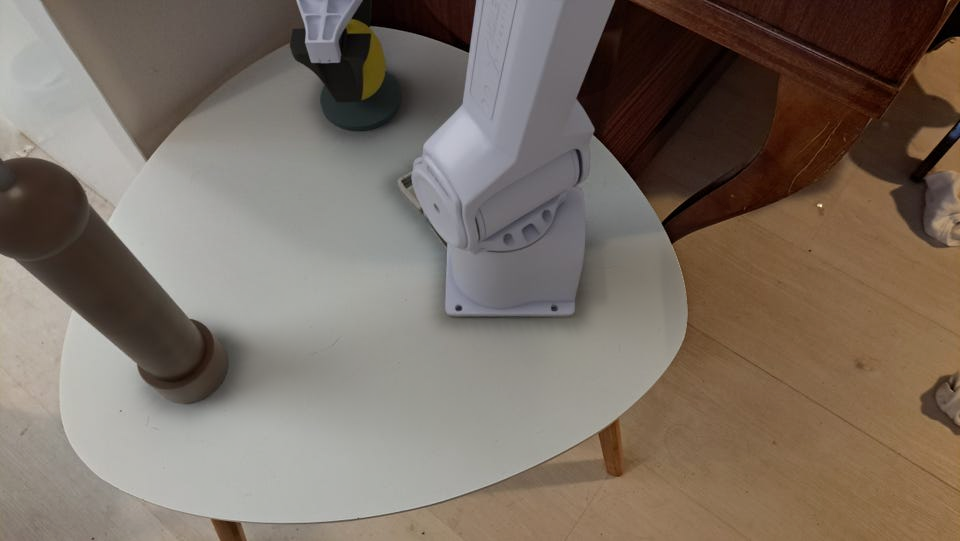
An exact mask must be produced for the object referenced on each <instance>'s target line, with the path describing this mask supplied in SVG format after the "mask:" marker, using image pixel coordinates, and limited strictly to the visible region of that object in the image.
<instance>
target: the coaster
mask: <svg viewBox="0 0 960 541" xmlns="http://www.w3.org/2000/svg"><path fill="white" fill-rule="evenodd" d="M401 91H402V90H401V87H400V84H399V82H398V81H397V79H396V78H395V77H394V76H393V75H392V74H391V73H390V72H388V71H387V70H385V76H384V79H383V82H382V84H381V86H380V88H379V89H378V90H377V91H376V92H375V93H374V94H373V95H372V96H370V97H369V98H366V99H364V100H361V102H336V101H335V99H334V98H333V97H332V95H331V94H330V92H329V91H328V89H327V88H326V87H325V85H324V84H323V87H322V89H321V92H320V95H319V101H320V107H321V110H322V113H323V115H324V116H325V118H326V120H328V121H329V122H330V123H331V124H333V125H334V126H336V127H338V128H340V129H343V130H347V131H353V132H354V131H355V132H360V131H361V132H362V131H363V132H364V131H370V130H373V129H375V128H376V129H377V128H378V127H381V126H382V125H385V124H386V123H387V122H389V121H390V120H391V119H392V118H393V117H394V116H395V115H396V113H398V110H399V108H400V106H401V102H402V92H401Z"/></svg>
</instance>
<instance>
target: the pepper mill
mask: <svg viewBox="0 0 960 541" xmlns="http://www.w3.org/2000/svg"><path fill="white" fill-rule="evenodd" d="M79 181H80V180H78V179H77V178H76V176H74V175H73V174H72V173H71V172H70V171H69V170H67V169H66V168H64V167H63V166H61V165H60V164H57V163H55V162H53V161H51V160H47V159H44V158H39V157H29V156H23V157H21V156H20V157H15V158H8V159H5V160H3V159H2V157H0V255H1V256H3V257H7V258H9V259H13V260H14V261H15V262H16V263H18V264H19V265H20V266H21V267H22V268H24V269H25V270H26V271H27V272H28V273H30V274H31V275H32V276H33V277H34V278H35V279H36V280H38V281H39V282H40V283H41V284H42V285H44V286H45V287H46V288H47V289H48V290H49V291H50V292H52V293H53V294H54V295H56V297H57V298H59V299H60V300H61V301H63V302H64V303H65V304H66V305H67V306H68V307H70V309H72V311H74V312H75V313H77V315H79V317H81V318H83V320H85V321H86V322H87V323H88V324H90V326H92V327H93V328H94V329H95V330H97V332H99V334H101V335H102V336H103V337H105V338H106V339H107V340H108V341H109V342H110V343H112V344H113V345H114V346H115V347H116V348H118V349H119V350H120V351H121V352H122V353H124V354H125V355H126V356H127V357H128V358H129V359H131V361H133V362H134V363H135V364H136V367H137V371H138V374H139V375H140V377H141V379H142V380H143V381H144V382H145V383H146V384H147V385H149V386H150V387H151V388H152V389H153V390H155V391H156V392H157V393H159V394H160V395H161V396H162V397H163V398H165V399H166V400H168V401H170V402H173V403H176V404H192V403H196V402H200V401H201V400H204V399H206V398H207V397H209V396H211V394H213V393H214V392H215V391H216V390H217V389H218V388H219V387H220V386H221V384H222V383H223V381H224V379H225V377H226V375H227V371H228V367H229V359H228V358H229V357H228V353H227V351H226V349H225V347H224V346H223V345H222V343H221V341H219V339H218V338H217V337H216V336H215V335H214V334H213V332H212V331H211V330H210V329H209V327H208V326H206V325H205V324H204V323H202V322H201V321H199V320H197V319H193V318H190V317H189V316H188V315H187V314H186V312H184V311H183V309H182V308H181V307H180V306H179V304H177V302H176V301H175V300H174V299H173V298H172V297H171V296H170V294H168V292H167V291H166V289H164V287H163V286H162V285H161V284H160V283H159V282H158V281H157V279H155V277H154V276H153V275H152V274H151V273H150V271H149V270H148V269H147V268H146V267H145V266H144V265H143V263H142V262H141V261H140V260H139V259H138V257H136V255H135V254H134V253H133V252H132V251H131V250H130V249H129V247H128V246H127V245H126V244H125V243H124V241H123V240H122V239H121V238H120V237H119V236H118V235H117V233H116V232H114V230H113V229H112V228H111V227H110V226H109V224H108V223H107V222H106V221H105V220H104V219H103V218H102V216H101V215H100V214H99V213H98V212H97V210H95V208H94V207H93V206H92V205H91V204H90V202H89V198H88V195H87V193H86V191H85V189H84V187H83V186H82V184H81V183H80V182H79Z"/></svg>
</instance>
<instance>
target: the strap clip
mask: <svg viewBox="0 0 960 541" xmlns="http://www.w3.org/2000/svg"><path fill="white" fill-rule="evenodd" d="M412 171H413V170H411V171H409V172H408V173H406V174H404V175H402V176H401V177H399V178H398V179H397V187H398V189H399V191H400V193H401V195H402V197H403V198H404V199H405V200H406V201H407V202H408V203H409V204H410V206H412V207H413V209H415V211H417V213H418V214H423V215H424V218H425V219H426V220H427V221H429V219H428V218H427V216H426V214H425V213H424V211H423V209H422V207H421V205H420V203H419V201H418V198H417V196H416V194H415V191H414V188H413V184H411V185H410V186H409V187H407V188H406V186H405V184H407V183H408V182H410V181H412ZM429 225H430V229H431V230H432V231H433V233H434V234H435V236H436V237H437V239H438V240H439V241H440V243H441V244H442V245H443V247H444V248H445V249H446V250H447V242H446V241H445V240H444V239H443V238H442V237H441V236H440V235H439V234H438V232H437V231H436V230H435V228H434V227H433V225H432V224H431V222H429Z"/></svg>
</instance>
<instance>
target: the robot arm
mask: <svg viewBox="0 0 960 541" xmlns="http://www.w3.org/2000/svg"><path fill="white" fill-rule="evenodd" d="M295 1H296V5H297V7H298V10H299V13H300V16H301V19H302V22H303V25H304V28H292V30H291V36H290V42H289V48H290V52H291V54H292V57H293V58H294V61H296V62H297V63H300V64H301V65H303V66H305V67H306V68H307V69H309V70H310V71H312V72H313V73H314V74H315V75H316V76H317V77H318V78H319V80H320V81H321V82H322V84H323V86H324V85H325V87H326V88H327V89H328V91H329V92H330V94H331V95H332V97H333V98H334V99H335V101H336V102H361V100H362V93H363V65H364V63H365V61H366V59H367V57H368V54H369V50H370V43H371V34H372V33H347V29H346V28H345V27H346V26H347V24H348V23H349V21H350V19H354V20H358V21H360V22H362V23H364V24H366V25H367V26H368V27H369V28H370V29H371V24H372V23H371V22H372V0H295ZM615 1H616V0H475V8H474V16H473V23H472V31H471V36H470V37H471V38H470V44H469V52H468V59H467V68H466V74H465V81H464V82H465V83H464V89H463V95H462V96H463V97H462V99H463V100H462V104H461V105H460V106H459V108H458V109H457V110H456V111H455V112H454V113H453V114H451V116H450V117H449V118H448V119H447V120H445V122H444V123H443V124H442V125H440V126H439V127H438V128H437V130H436V131H434V133H433V134H432V135H431V136H429V138H427V139H426V141H425V142H424V144H422V155H421V156H418V157H416V158H415V159H414V161H413V164H412V170H411V171H412V180H411V185H413V188H414V191H415V194H416V196H417V198H418V201H419V203H420V205H421V207H422V209H423V211H424V213H425V214H426V216H427V218H428V219H429V220H428V222H429V223H431V224H432V225H433V227H434V228H435V230H436V231H437V232H438V234H439V235H440V236H441V237H442V238H443V239H444V240H445V241H446V242H447V249H446V274H445V301H444V302H445V304H444V310H445V313H446V315H447V316H449V317H571V316H573V315H574V314H575V311H576V296H577V293H578V289H579V284H580V279H581V275H582V271H583V266H584V260H585V251H586V248H585V247H586V235H587V234H586V227H587V226H586V203H585V197H584V191H583V187H581V186H579V185H581V184H583V183H584V182H585V181H586V180H587V179H588V177H589V175H590V170H591V149H590V144H591V139H592V137H593V135H594V133H595V130H596V129H595V127H594V125H593V123H592V120H591V119H590V117H589V115H588V114H587V112H586V110H585V108H584V107H583V106H582V104H581V103H580V101H579V100H578V99H577V98H578V95H579V93H580V90H581V87H582V85H583V83H584V80H585V78H586V74H587V72H588V70H589V67H590V65H591V62H592V60H593V58H594V54H595V52H596V49H597V47H598V44H599V42H600V39H601V37H602V34H603V32H604V29H605V27H606V24H607V22H608V20H609V17H610V15H611V12H612V9H613V7H614V5H615ZM424 213H423V214H424ZM457 308H461V310H457ZM553 308H556V309H557V310H552V309H553Z"/></svg>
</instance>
